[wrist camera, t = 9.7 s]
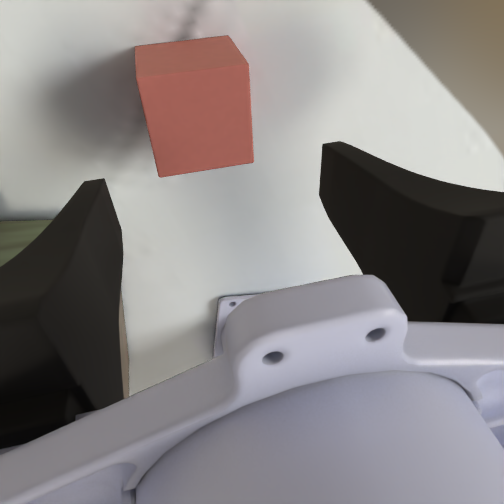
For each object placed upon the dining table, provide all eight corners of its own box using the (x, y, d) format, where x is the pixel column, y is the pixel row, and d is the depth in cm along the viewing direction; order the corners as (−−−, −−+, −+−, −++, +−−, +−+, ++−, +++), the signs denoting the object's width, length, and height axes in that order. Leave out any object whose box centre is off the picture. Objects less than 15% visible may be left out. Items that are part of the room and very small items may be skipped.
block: (228, 35, 20) (248, 63, 16) (235, 123, 22) (254, 162, 19) (134, 45, 19) (135, 77, 16) (154, 135, 22) (159, 178, 19)
